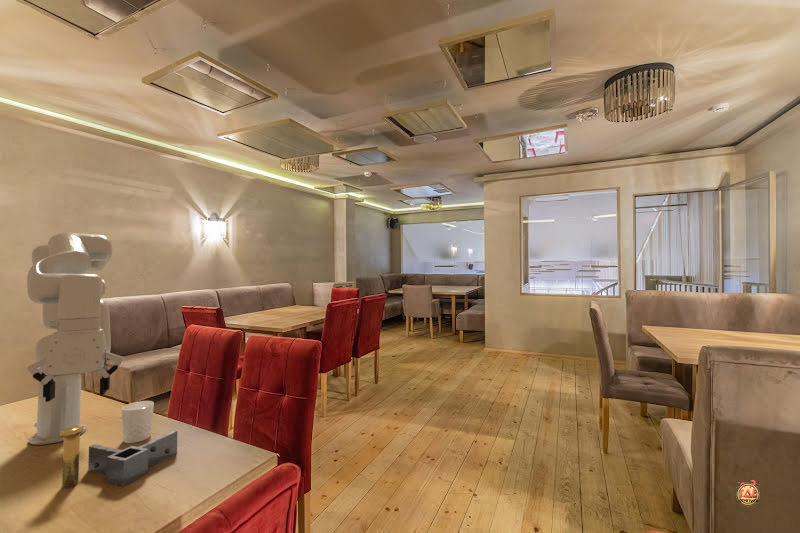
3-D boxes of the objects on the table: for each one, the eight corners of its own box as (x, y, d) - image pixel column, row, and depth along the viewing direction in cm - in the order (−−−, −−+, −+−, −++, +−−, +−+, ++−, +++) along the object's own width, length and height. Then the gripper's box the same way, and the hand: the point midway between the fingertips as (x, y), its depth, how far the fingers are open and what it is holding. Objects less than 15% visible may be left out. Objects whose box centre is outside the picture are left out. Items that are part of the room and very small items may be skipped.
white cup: (135, 445, 101) (136, 411, 101) (113, 443, 102) (114, 409, 103) (159, 433, 109) (160, 401, 109) (138, 431, 110) (139, 399, 110)
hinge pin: (54, 488, 81) (56, 431, 81) (74, 478, 84) (76, 424, 85) (65, 491, 79) (67, 433, 80) (85, 481, 83) (87, 426, 84)
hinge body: (77, 475, 86) (78, 450, 86) (141, 445, 101) (142, 425, 101) (123, 486, 81) (123, 460, 81) (183, 453, 96) (183, 432, 96)
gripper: (22, 329, 76) (19, 408, 75) (121, 324, 84) (119, 395, 84) (37, 325, 83) (34, 397, 82) (127, 321, 91) (126, 386, 90)
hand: (77, 396), depth 83 cm, fingers open, 9 cm apart
